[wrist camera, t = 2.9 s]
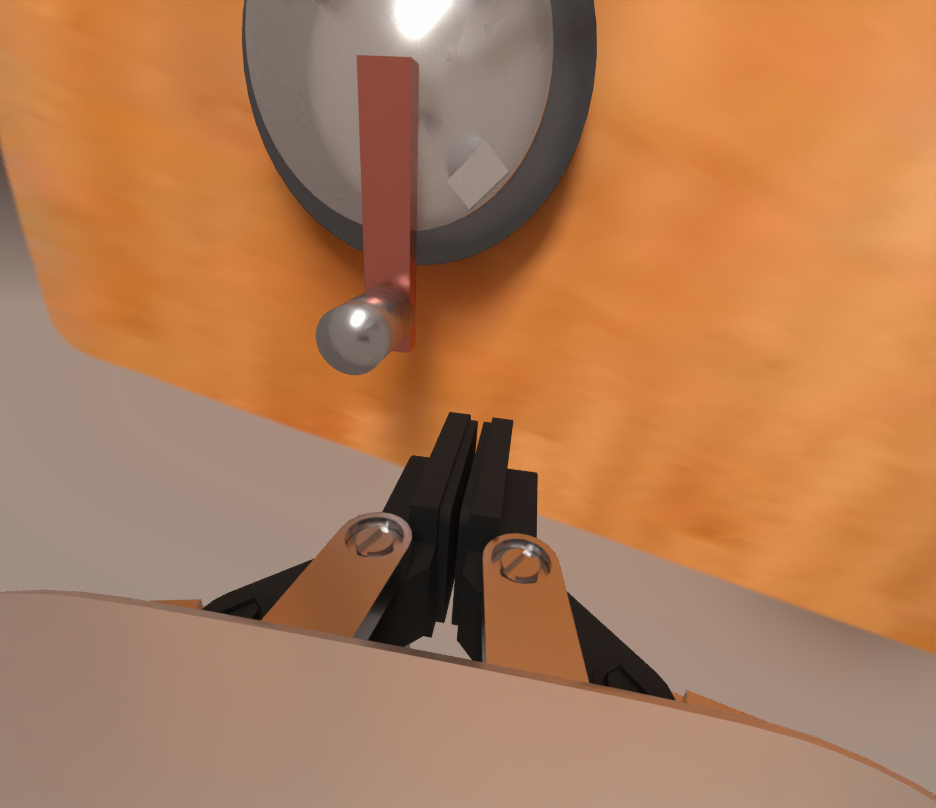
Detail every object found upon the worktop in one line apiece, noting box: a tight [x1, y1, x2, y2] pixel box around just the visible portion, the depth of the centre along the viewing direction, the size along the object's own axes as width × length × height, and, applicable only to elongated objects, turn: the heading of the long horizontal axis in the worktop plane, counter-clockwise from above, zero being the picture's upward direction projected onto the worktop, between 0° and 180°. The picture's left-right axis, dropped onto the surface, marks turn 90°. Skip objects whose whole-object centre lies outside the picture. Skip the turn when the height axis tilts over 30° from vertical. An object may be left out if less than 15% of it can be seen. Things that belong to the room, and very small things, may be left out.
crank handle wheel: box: [245, 0, 553, 375], centre depth 19 cm, size 14×20×9 cm
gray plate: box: [242, 0, 597, 265], centre depth 24 cm, size 18×18×3 cm
